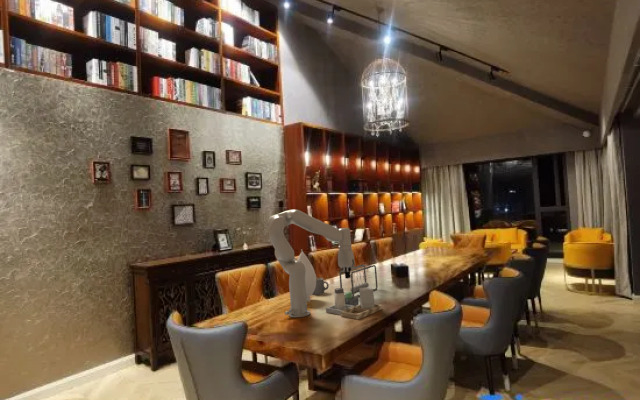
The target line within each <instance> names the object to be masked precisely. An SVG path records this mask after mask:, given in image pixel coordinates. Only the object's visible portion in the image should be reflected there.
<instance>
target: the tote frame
mask: <svg viewBox="0 0 640 400" xmlns="http://www.w3.org/2000/svg"><path fill="white" fill-rule="evenodd" d="M352 307H355V306H353V305H346V304H345V308H346V309H343V310H337V309H335V304H333V305H331V306H328V307H326V308H325V313H327V314H333V315H338V316H341V312H342V311H344V310H347V309H350V308H352Z"/></svg>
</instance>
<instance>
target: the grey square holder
mask: <svg viewBox="0 0 640 400" xmlns="http://www.w3.org/2000/svg"><path fill="white" fill-rule="evenodd" d="M359 303H360V302H359V297H355V295H354V296H352V298H351V299H346V296H345V304H346V305H353V306H357V305H360V304H359Z"/></svg>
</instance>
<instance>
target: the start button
mask: <svg viewBox="0 0 640 400" xmlns="http://www.w3.org/2000/svg"><path fill="white" fill-rule="evenodd" d="M344 294H345V296H346V299H351V298H352V292H351V291H346V292H344Z"/></svg>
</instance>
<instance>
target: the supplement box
mask: <svg viewBox="0 0 640 400" xmlns="http://www.w3.org/2000/svg"><path fill="white" fill-rule="evenodd" d="M373 289H374V288H373V287H371V286H368V287H367V288H359V295H360V297H359V303H360V304H359V305H360V306H361V308H365V309H371V308H374V307H375V306H374V304H375V295H374V294H375V293H374V291H373Z"/></svg>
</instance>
